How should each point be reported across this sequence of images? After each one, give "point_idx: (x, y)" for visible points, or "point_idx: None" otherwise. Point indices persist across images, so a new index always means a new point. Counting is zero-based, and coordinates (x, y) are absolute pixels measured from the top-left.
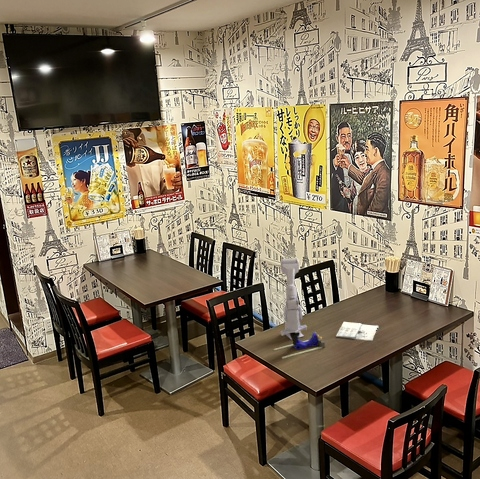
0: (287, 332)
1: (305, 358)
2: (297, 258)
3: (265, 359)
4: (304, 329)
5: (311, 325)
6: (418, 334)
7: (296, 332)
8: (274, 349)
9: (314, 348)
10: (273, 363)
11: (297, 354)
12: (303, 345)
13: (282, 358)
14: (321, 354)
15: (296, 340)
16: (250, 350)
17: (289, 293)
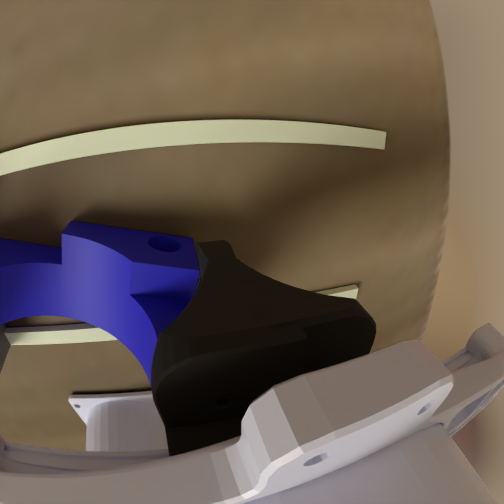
0: (487, 368)
1: (189, 9)
2: None
3: (446, 196)
4: (11, 444)
5: (31, 445)
6: None
7: (408, 351)
8: (355, 293)
9: (7, 168)
10: (443, 117)
11: (229, 119)
12: (98, 240)
13: (382, 132)
14: (5, 39)
15: (213, 269)
16: (424, 321)
17: None
